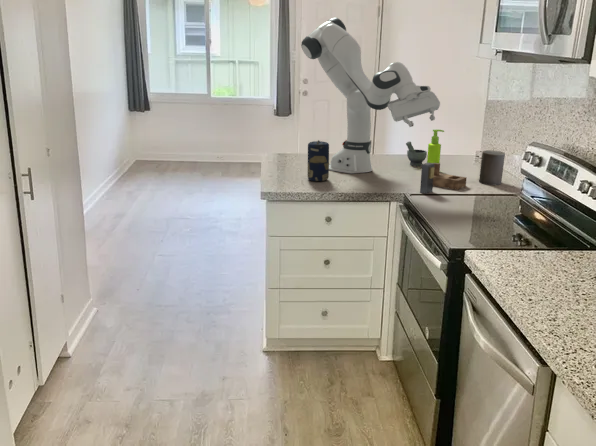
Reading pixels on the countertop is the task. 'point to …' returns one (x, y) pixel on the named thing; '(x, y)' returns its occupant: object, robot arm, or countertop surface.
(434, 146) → the soap dispenser
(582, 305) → the countertop surface
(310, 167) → the canister
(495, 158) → the pillar candle
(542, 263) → the countertop surface
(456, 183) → the hand plane
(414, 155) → the mortar and pestle
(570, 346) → the countertop surface
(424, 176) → the lever cap
